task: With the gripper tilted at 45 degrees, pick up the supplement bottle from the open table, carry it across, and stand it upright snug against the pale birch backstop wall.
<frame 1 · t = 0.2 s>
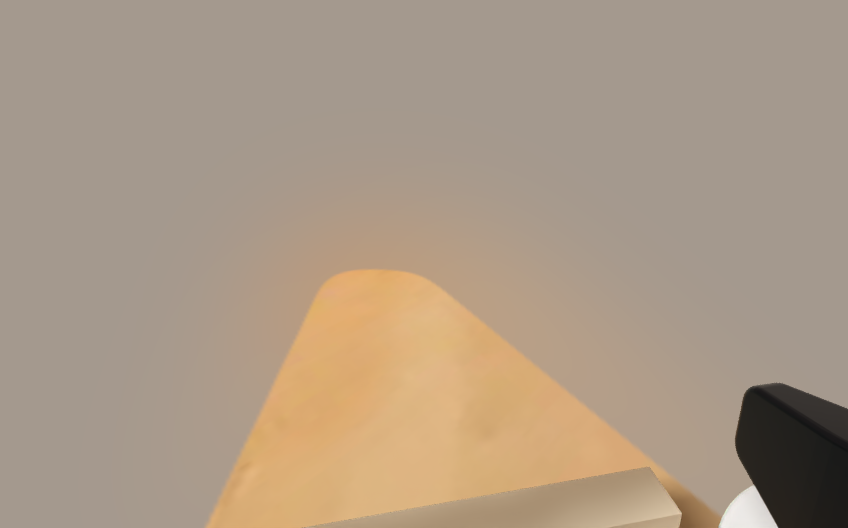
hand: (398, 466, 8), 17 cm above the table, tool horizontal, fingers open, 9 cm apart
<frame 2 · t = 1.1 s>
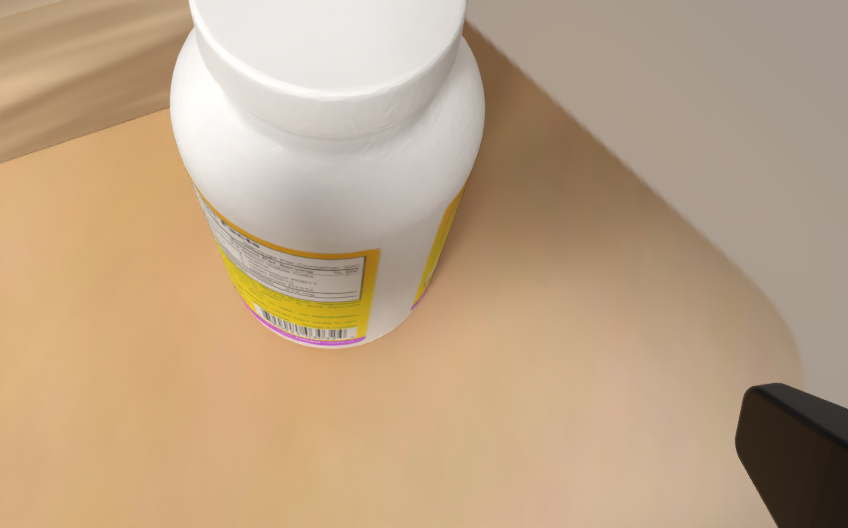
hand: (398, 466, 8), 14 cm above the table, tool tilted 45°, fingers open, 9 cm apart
birch backstop wall: (112, 99, 25), on the table
supplement bottle: (331, 259, 24), on the table
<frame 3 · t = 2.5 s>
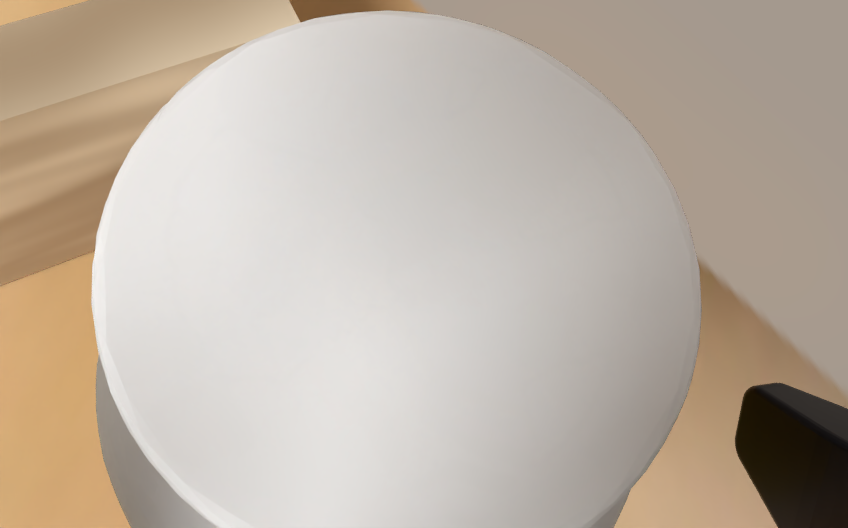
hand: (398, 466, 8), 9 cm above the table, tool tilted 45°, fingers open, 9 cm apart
birch backstop wall: (58, 226, 18), on the table
supplement bottle: (357, 449, 17), on the table
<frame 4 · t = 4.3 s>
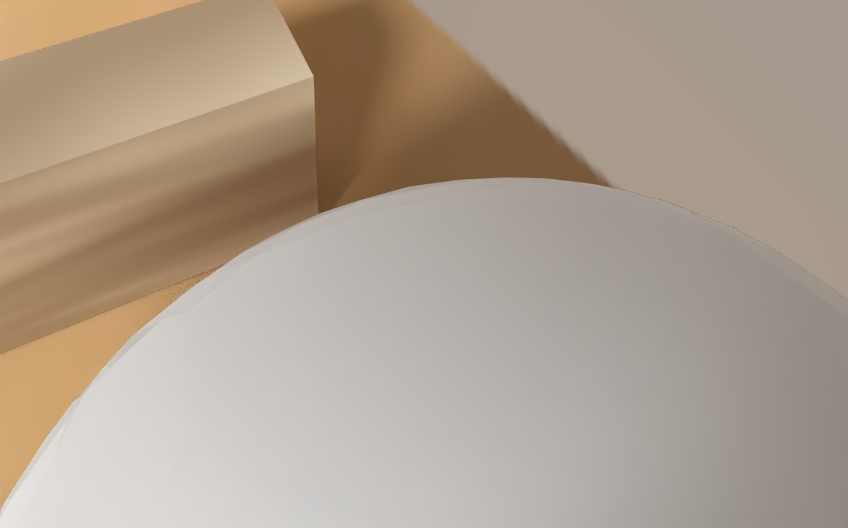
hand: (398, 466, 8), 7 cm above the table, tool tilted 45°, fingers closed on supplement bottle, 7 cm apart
birch backstop wall: (24, 298, 16), on the table
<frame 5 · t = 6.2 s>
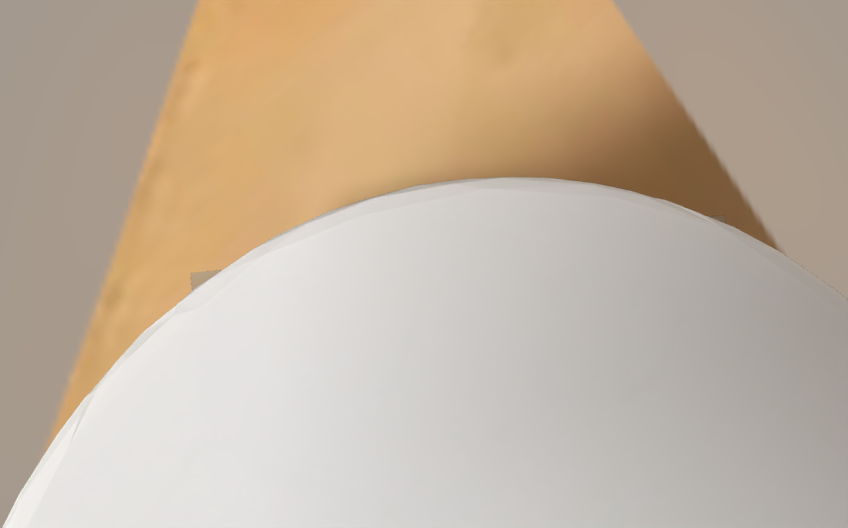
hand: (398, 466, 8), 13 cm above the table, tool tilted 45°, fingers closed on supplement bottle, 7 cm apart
birch backstop wall: (443, 343, 22), on the table
when the fingers open (8 cm above the table, at t = 8.2 s): supplement bottle stays where it is, on the table.
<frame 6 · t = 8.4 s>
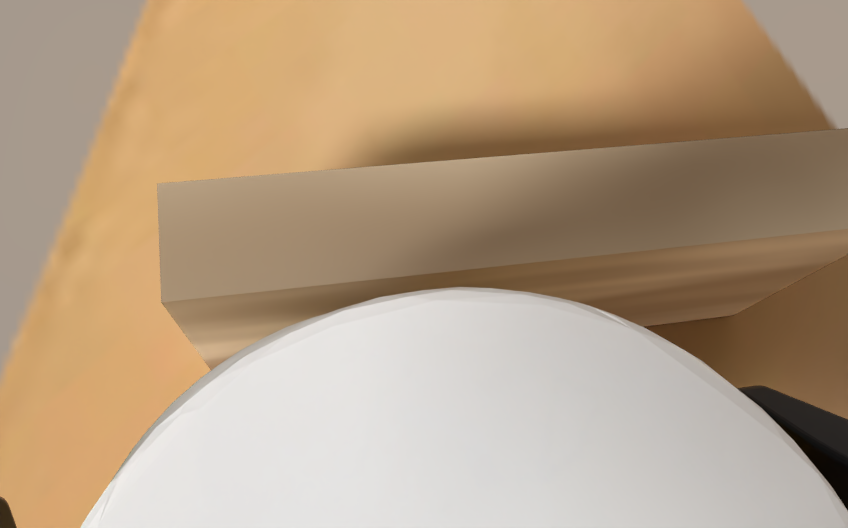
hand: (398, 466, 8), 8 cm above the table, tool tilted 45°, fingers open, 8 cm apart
birch backstop wall: (484, 306, 18), on the table
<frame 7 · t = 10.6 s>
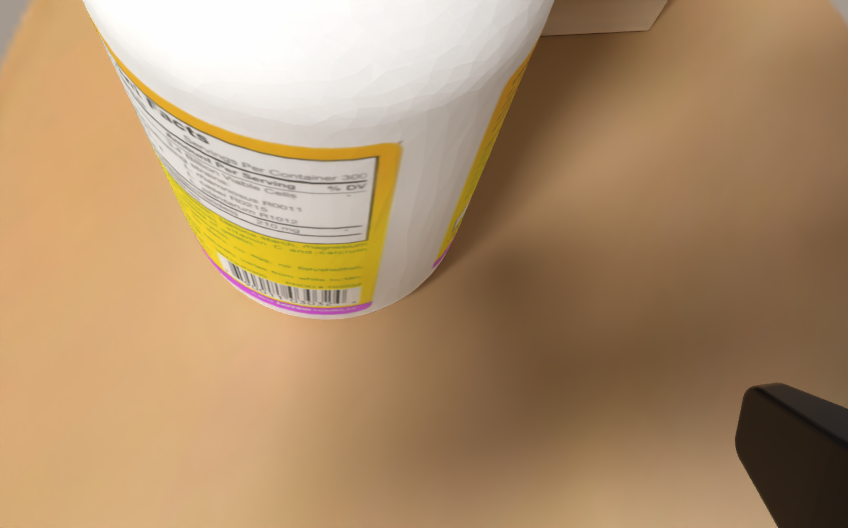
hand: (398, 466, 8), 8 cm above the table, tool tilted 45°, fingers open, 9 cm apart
birch backstop wall: (430, 12, 21), on the table
supplement bottle: (326, 204, 18), on the table
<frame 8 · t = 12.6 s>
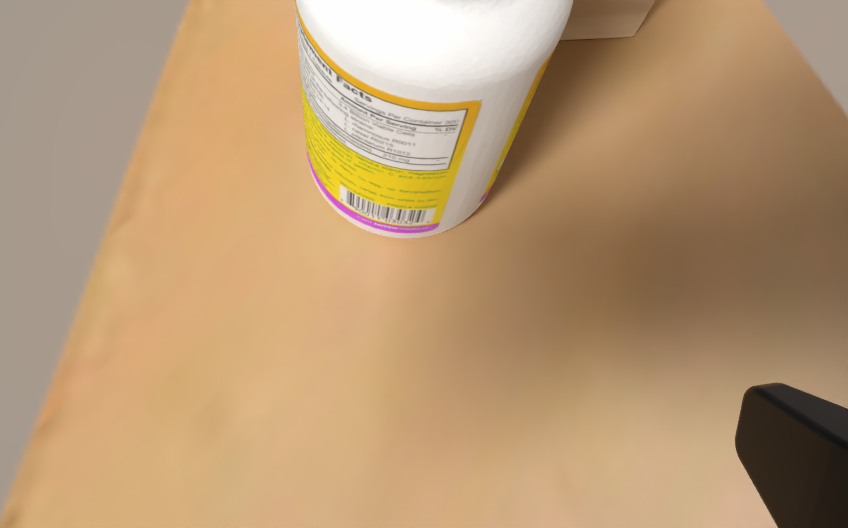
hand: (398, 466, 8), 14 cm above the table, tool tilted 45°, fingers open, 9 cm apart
birch backstop wall: (471, 23, 28), on the table
supplement bottle: (400, 161, 25), on the table
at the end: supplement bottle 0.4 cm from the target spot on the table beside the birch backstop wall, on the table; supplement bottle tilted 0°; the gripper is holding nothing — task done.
